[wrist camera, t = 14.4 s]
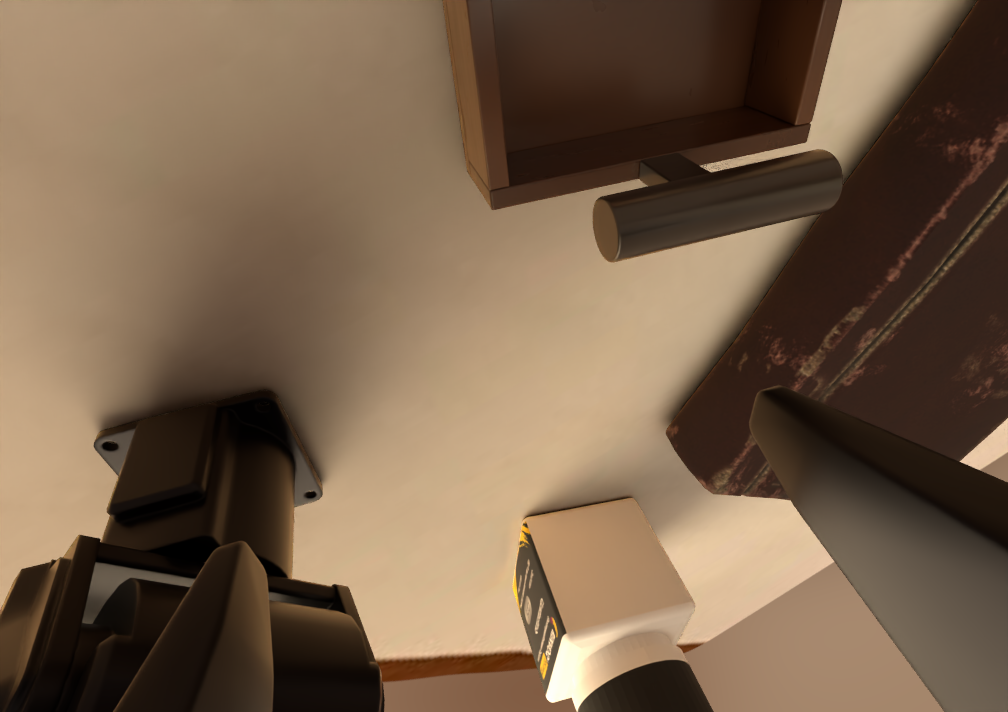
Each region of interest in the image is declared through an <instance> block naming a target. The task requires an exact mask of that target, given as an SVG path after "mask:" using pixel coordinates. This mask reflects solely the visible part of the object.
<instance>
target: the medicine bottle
mask: <svg viewBox="0 0 1008 712" xmlns="http://www.w3.org/2000/svg"><path fill="white" fill-rule="evenodd" d="M513 591H514V594H515V597H516V600H517V604H518V607H519V610H520V613H521V617H522V620H523V623H524V626H525V630H526V633H527V636H528V640H529V643H530V646H531V649H532V653H533V656H534V659H535V662H536V666H537V669H538V672H539V675H540V678H541V682H542V685H543V688H544V691H545V695H546V698H547V699H548V701H550V702H557V701H560V700H564V699H567V698H571V697H572V699H573V701H574V705H575V708H576V711H577V712H713V710H712V708H711V706H710V704H709V702H708V700H707V698H706V696H705V694H704V693H703V691H702V689H701V687H700V685H699V683H698V681H697V679H696V677H695V675H694V673H693V671H692V669H691V667H690V665H689V663H688V662H687V660H686V658H685V656H684V654H683V652H682V650H681V649H680V648H679V647H677V646H676V644H677V642H678V641H679V639H680V637H681V635H682V633H683V631H684V629H685V628H686V626H687V624H688V622H689V620H690V618H691V616H692V615H693V613H694V611H695V603H694V601H693V599H692V597H691V596H690V594H689V592H688V590H687V589H686V587H685V585H684V583H683V582H682V580H681V578H680V576H679V575H678V573H677V571H676V569H675V568H674V566H673V564H672V562H671V561H670V559H669V557H668V555H667V554H666V552H665V550H664V548H663V547H662V545H661V543H660V541H659V540H658V538H657V536H656V534H655V533H654V531H653V529H652V527H651V526H650V524H649V522H648V521H647V519H646V517H645V515H644V514H643V512H642V510H641V508H640V507H639V505H638V503H637V501H636V500H635V499H633V498H627V499H622V500H616V501H611V502H606V503H600V504H595V505H590V506H584V507H579V508H574V509H569V510H563V511H558V512H553V513H547V514H542V515H537V516H531V517H527V518H525V519H524V520H523V522H522V527H521V533H520V540H519V546H518V553H517V559H516V566H515V573H514V579H513Z"/></svg>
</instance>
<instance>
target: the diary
mask: <svg viewBox="0 0 1008 712" xmlns="http://www.w3.org/2000/svg"><path fill="white" fill-rule="evenodd" d="M774 386H784V387H787V388H789V389H791V390H794V391H796V392H798V393H801V394H803V395H805V396H808V397H810V398H812V399H815V400H817V401H819V402H822V403H824V404H826V405H829V406H831V407H833V408H836V409H838V410H840V411H843V412H845V413H847V414H850V415H852V416H854V417H857V418H859V419H861V420H864V421H866V422H868V423H870V424H873V425H875V426H877V427H880V428H882V429H884V430H887V431H889V432H891V433H894V434H896V435H898V436H901V437H903V438H905V439H908V440H910V441H912V442H915V443H917V444H919V445H922V446H924V447H926V448H929V449H931V450H933V451H936V452H938V453H940V454H943V455H945V456H947V457H950V458H952V459H954V460H956V461H961V460H962V459H963V458H964V457H965V456H966V455H967V454H968V453H969V452H971V451H972V450H973V449H974V448H975V447H976V446H977V445H978V444H979V443H981V442H982V441H983V440H984V439H985V438H986V437H987V436H988V435H989V434H991V433H992V432H993V431H994V430H995V429H996V428H997V427H998V426H999V425H1001V424H1002V423H1003V422H1004V421H1005V420H1006V419H1007V418H1008V0H978V1H977V2H976V4H975V5H974V7H973V8H972V10H971V11H970V13H969V14H968V15H967V17H966V18H965V20H964V21H963V23H962V24H961V26H960V27H959V29H958V30H957V31H956V33H955V34H954V36H953V37H952V39H951V40H950V42H949V43H948V44H947V46H946V47H945V49H944V50H943V52H942V53H941V55H940V56H939V58H938V59H937V60H936V62H935V63H934V65H933V66H932V68H931V69H930V71H929V72H928V74H927V75H926V76H925V78H924V79H923V80H922V82H921V83H920V84H919V86H918V87H917V88H916V89H915V91H914V92H913V93H912V95H911V96H910V97H909V99H908V100H907V101H906V103H905V104H904V105H903V107H902V108H901V109H900V111H899V112H898V113H897V115H896V116H895V117H894V119H893V120H892V121H891V123H890V124H889V125H888V127H887V128H886V129H885V131H884V132H883V133H882V135H881V136H880V137H879V139H878V140H877V141H876V142H875V144H874V145H873V146H872V148H871V149H870V150H869V152H868V153H867V154H866V156H865V157H864V158H863V160H862V161H861V162H860V164H859V165H858V166H857V168H856V169H855V170H854V172H853V173H852V174H851V176H850V177H849V178H848V180H847V181H846V182H845V184H844V185H843V187H842V191H841V194H840V197H839V199H838V201H837V202H836V204H835V205H834V206H833V207H832V208H830V209H829V210H827V211H825V212H823V213H822V214H821V215H820V217H819V218H818V219H817V221H816V222H815V223H814V225H813V226H812V228H811V229H810V231H809V232H808V234H807V235H806V237H805V238H804V240H803V241H802V243H801V244H800V246H799V247H798V248H797V250H796V251H795V253H794V254H793V256H792V257H791V259H790V260H789V262H788V263H787V265H786V266H785V268H784V269H783V271H782V272H781V274H780V275H779V277H778V278H777V280H776V281H775V283H774V284H773V286H772V287H771V288H770V290H769V291H768V293H767V294H766V296H765V297H764V299H763V300H762V302H761V303H760V305H759V306H758V308H757V309H756V311H755V312H754V314H753V315H752V317H751V318H750V320H749V321H748V323H747V324H746V326H745V327H744V328H743V330H742V331H741V333H740V334H739V336H738V337H737V338H736V340H735V341H734V342H733V344H732V345H731V346H730V347H729V349H728V350H727V351H726V353H725V354H724V355H723V356H722V358H721V359H720V360H719V362H718V363H717V364H716V365H715V367H714V368H713V369H712V371H711V372H710V373H709V374H708V376H707V377H706V378H705V380H704V381H703V382H702V383H701V385H700V386H699V387H698V389H697V390H696V391H695V392H694V394H693V395H692V396H691V398H690V399H689V400H688V401H687V403H686V404H685V405H684V407H683V408H682V409H681V410H680V412H679V413H678V414H677V416H676V417H675V418H674V420H673V421H672V422H671V424H670V425H669V427H668V428H667V430H666V435H667V437H668V439H669V440H670V442H671V444H672V446H673V448H674V450H675V451H676V453H677V454H678V456H679V457H680V458H681V460H682V461H683V463H684V464H685V465H686V467H687V468H688V469H689V471H690V472H691V473H692V474H693V475H694V476H695V477H696V479H697V480H698V481H699V482H700V483H701V484H702V485H703V487H704V488H705V489H707V490H708V491H710V492H711V493H713V494H719V495H734V496H741V495H744V496H749V497H763V498H777V499H785V500H790V498H789V497H788V495H787V494H786V492H785V490H784V488H783V487H782V485H781V483H780V482H779V480H778V478H777V476H776V475H775V473H774V471H773V470H772V468H771V466H770V464H769V463H768V461H767V459H766V458H765V456H764V454H763V453H762V451H761V449H760V447H759V446H758V444H757V442H756V441H755V439H754V437H753V435H752V433H751V430H750V426H749V421H750V417H751V413H752V410H753V406H754V402H755V398H756V395H757V394H758V392H759V391H761V390H764V389H768V388H771V387H774Z"/></svg>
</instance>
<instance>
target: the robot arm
mask: <svg viewBox="0 0 1008 712" xmlns="http://www.w3.org/2000/svg"><path fill="white" fill-rule="evenodd" d="M260 402H267V403H269V404H268V405H261V404H259V403H260ZM749 426H750V430H751V433H752V435H753V437H754V439H755V441H756V442H757V444H758V446H759V447H760V449H761V451H762V453H763V454H764V456H765V458H766V459H767V461H768V463H769V464H770V466H771V468H772V470H773V471H774V473H775V475H776V476H777V478H778V480H779V482H780V483H781V485H782V487H783V488H784V490H785V492H786V494H787V495H788V497H789V498H790V500H791V502H792V503H793V505H794V506H795V508H796V509H797V511H798V512H799V513H800V515H801V516H802V518H803V519H804V520H805V522H806V523H807V524H808V526H809V527H810V529H811V530H812V531H813V533H814V534H815V535H816V537H817V538H818V540H819V541H820V542H821V544H822V545H823V546H824V548H825V549H826V550H827V552H828V553H829V555H830V556H831V557H832V559H833V560H834V561H835V563H836V564H837V565H838V567H839V568H840V570H841V571H842V572H843V574H844V575H845V576H846V578H847V579H848V581H849V582H850V583H851V585H852V586H853V587H854V589H855V590H856V591H857V593H858V594H859V596H860V597H861V598H862V600H863V601H864V602H865V604H866V605H867V606H868V608H869V609H870V611H872V613H873V615H874V616H875V617H876V619H877V620H878V621H879V623H880V624H881V625H882V627H883V628H884V630H885V631H886V632H887V633H888V635H889V637H890V638H891V639H892V640H893V642H894V643H895V645H896V646H897V647H898V649H899V650H900V652H901V653H902V654H903V656H904V657H905V658H906V660H907V661H908V662H909V664H910V665H911V667H912V668H913V669H914V671H915V672H916V673H917V675H918V676H919V678H920V679H921V680H922V682H923V683H924V684H925V686H926V687H927V688H928V690H929V691H930V692H931V694H932V695H933V697H934V698H935V699H936V701H937V702H938V703H939V705H940V706H941V708H942V709H943V710H944V712H1008V482H1005V481H1003V480H1000V479H998V478H996V477H994V476H991V475H989V474H987V473H984V472H982V471H980V470H977V469H975V468H973V467H970V466H968V465H966V464H963V463H961V462H959V461H956V460H954V459H952V458H950V457H947V456H945V455H943V454H940V453H938V452H936V451H933V450H931V449H929V448H926V447H924V446H922V445H919V444H917V443H915V442H912V441H910V440H908V439H905V438H903V437H901V436H898V435H896V434H894V433H891V432H889V431H887V430H884V429H882V428H880V427H877V426H875V425H873V424H870V423H868V422H866V421H864V420H861V419H859V418H857V417H854V416H852V415H850V414H847V413H845V412H843V411H840V410H838V409H836V408H833V407H831V406H829V405H826V404H824V403H822V402H819V401H817V400H815V399H812V398H810V397H808V396H805V395H803V394H801V393H798V392H796V391H794V390H791V389H789V388H787V387H784V386H774V387H771V388H768V389H764V390H761V391H759V392H758V394H757V395H756V398H755V402H754V406H753V410H752V413H751V417H750V421H749ZM107 441H112V442H115V443H109V442H107ZM94 448H95V450H96V451H97V452H98V453H99V454H100V455H101V457H102V458H103V459H104V460H105V461H106V462H107V464H108V465H109V466H110V467H111V468H112V469H113V470H114V472H115V473H116V474H117V475H118V476H119V477H118V479H117V482H116V485H115V488H114V491H113V493H112V496H111V499H110V502H109V505H108V507H107V513H108V514H109V515H110V517H109V520H108V523H107V526H106V529H105V532H104V535H103V538H102V540H101V542H100V539H99V538H94V537H88V536H83V535H78V536H77V538H76V539H75V541H74V542H73V544H72V545H71V547H70V548H69V550H68V551H67V553H66V554H65V555H64V557H63V558H62V557H60V558H59V559H58V560H52V561H51V562H49V563H45V564H41V565H37V566H33V567H29V568H25V569H22V570H21V571H20V573H19V574H18V576H17V577H16V579H15V580H14V582H13V584H12V586H11V588H10V591H9V593H8V595H7V597H6V599H5V601H4V604H3V606H2V608H1V610H0V712H384V690H383V683H382V674H381V671H380V668H379V665H378V664H377V663H376V661H375V658H374V655H373V652H372V650H371V647H370V644H369V642H368V639H367V636H366V633H365V631H364V628H363V625H362V622H361V620H360V617H359V614H358V612H357V609H356V606H355V603H354V601H353V598H352V595H351V593H350V590H349V588H348V587H347V586H341V585H336V584H333V585H332V586H327V585H322V584H317V583H311V582H306V581H301V580H296V579H292V563H293V531H294V507H297V506H300V505H304V504H307V503H311V502H314V501H317V500H319V499H320V498H321V497H322V484H321V482H320V480H319V478H318V476H317V474H316V472H315V470H314V468H313V466H312V464H311V462H310V460H309V458H308V456H307V454H306V452H305V450H304V448H303V446H302V444H301V442H300V440H299V438H298V436H297V434H296V432H295V430H294V428H293V426H292V424H291V422H290V420H289V418H288V416H287V414H286V412H285V411H284V409H283V407H282V405H281V403H280V401H279V399H278V397H277V396H276V394H275V393H273V392H271V391H267V390H262V391H256V392H252V393H248V394H244V395H240V396H236V397H232V398H228V399H224V400H221V401H217V402H213V403H207V404H203V405H199V406H195V407H191V408H187V409H183V410H179V411H175V412H171V413H167V414H163V415H159V416H155V417H151V418H147V419H143V420H141V421H137V422H133V423H129V424H125V425H121V426H117V427H113V428H109V429H105V430H103V431H101V432H100V433H99V434H98V435H97V437H96V440H95V442H94ZM309 491H311V492H309Z"/></svg>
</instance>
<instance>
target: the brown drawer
mask: <svg viewBox="0 0 1008 712" xmlns="http://www.w3.org/2000/svg"><path fill="white" fill-rule="evenodd" d="M442 1H443V7H444V14H445V21H446V28H447V35H448V42H449V49H450V56H451V63H452V69H453V76H454V83H455V90H456V97H457V104H458V111H459V118H460V125H461V131H462V138H463V145H464V152H465V159H466V166H467V172H468V173H469V175H470V177H471V178H472V180H473V181H474V183H475V184H476V186H477V187H478V189H479V190H480V192H481V193H482V195H483V197H484V198H485V200H486V201H487V203H488V204H489V206H490V207H491V209H492V210H496V209H501V208H505V207H510V206H514V205H519V204H524V203H528V202H533V201H538V200H542V199H547V198H551V197H556V196H561V195H565V194H570V193H575V192H579V191H584V190H588V189H593V188H598V187H602V186H607V185H612V184H616V183H621V182H625V181H630V180H635V179H640V180H641V181H642V182H643V183H645V184H646V185H647V186H648V187H643V188H639V189H634V190H630V191H625V192H621V193H616V194H612V195H607V196H602V197H600V198H598V199H597V200H596V202H595V205H594V209H593V229H594V234H595V239H596V242H597V245H598V248H599V250H600V252H601V254H602V256H603V257H604V258H605V259H606V260H607V261H608V262H618V261H622V260H626V259H630V258H634V257H639V256H643V255H647V254H651V253H655V252H659V251H664V250H668V249H672V248H676V247H680V246H684V245H689V244H693V243H697V242H701V241H705V240H710V239H714V238H718V237H722V236H726V235H730V234H735V233H739V232H743V231H747V230H751V229H756V228H760V227H764V226H768V225H772V224H776V223H781V222H785V221H789V220H793V219H797V218H802V217H806V216H810V215H814V214H818V213H822V212H825V211H827V210H829V209H830V208H832V207H833V206H834V205H835V204H836V202H837V201H838V199H839V197H840V194H841V191H842V187H843V174H842V170H841V166H840V164H839V162H838V160H837V159H836V158H835V156H834V155H832V154H831V153H830V152H828V151H825V150H821V149H817V150H812V151H808V152H803V153H799V154H794V155H789V156H785V157H780V158H776V159H771V160H767V161H762V162H758V163H753V164H748V165H744V166H739V167H735V168H730V169H726V170H721V171H716V172H712V173H710V172H709V171H707V170H705V169H704V168H702V167H700V166H699V165H704V164H709V163H713V162H718V161H722V160H727V159H732V158H736V157H741V156H746V155H750V154H755V153H759V152H764V151H769V150H773V149H778V148H783V147H787V146H792V145H796V144H801V143H805V142H806V141H807V138H808V134H809V130H810V126H811V124H810V122H811V121H812V119H813V115H814V111H815V107H816V103H817V99H818V95H819V91H820V87H821V83H822V79H823V75H824V71H825V67H826V63H827V59H828V55H829V51H830V47H831V43H832V39H833V35H834V31H835V27H836V23H837V19H838V15H839V11H840V7H841V3H842V0H442Z"/></svg>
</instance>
